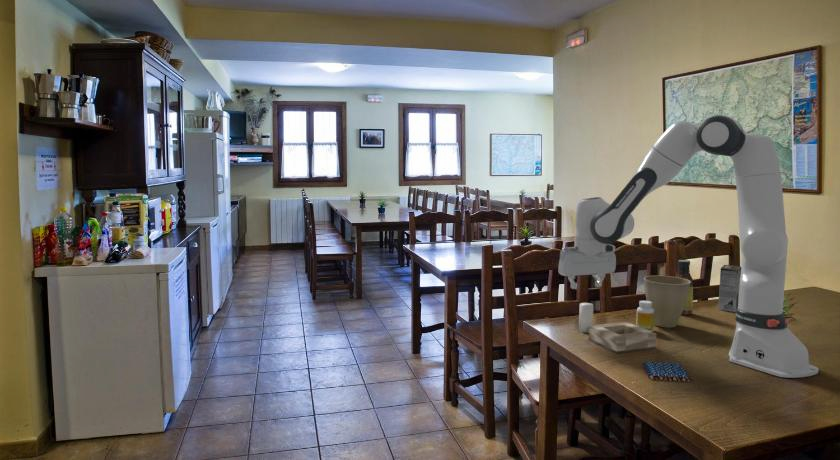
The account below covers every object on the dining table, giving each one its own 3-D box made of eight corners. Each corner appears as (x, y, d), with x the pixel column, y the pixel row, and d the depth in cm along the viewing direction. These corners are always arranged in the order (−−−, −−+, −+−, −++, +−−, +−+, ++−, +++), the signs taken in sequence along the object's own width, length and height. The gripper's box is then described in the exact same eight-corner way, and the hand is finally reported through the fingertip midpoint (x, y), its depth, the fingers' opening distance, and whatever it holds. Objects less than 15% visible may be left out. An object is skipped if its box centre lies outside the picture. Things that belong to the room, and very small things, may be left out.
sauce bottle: (693, 312, 221) (696, 260, 218) (691, 316, 215) (694, 262, 213) (674, 310, 224) (677, 258, 222) (671, 314, 219) (674, 261, 217)
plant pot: (675, 333, 195) (678, 286, 193) (633, 324, 206) (635, 279, 204) (696, 325, 204) (698, 279, 202) (654, 316, 215) (656, 273, 213)
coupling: (597, 332, 196) (598, 306, 194) (586, 334, 194) (587, 307, 193) (585, 327, 202) (585, 301, 201) (574, 328, 201) (574, 302, 200)
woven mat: (692, 383, 153) (692, 376, 152) (648, 381, 155) (649, 373, 154) (682, 369, 163) (682, 362, 163) (641, 367, 165) (641, 360, 165)
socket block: (655, 348, 179) (656, 333, 179) (616, 353, 175) (617, 338, 174) (625, 335, 193) (626, 321, 192) (588, 339, 188) (589, 325, 188)
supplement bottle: (654, 332, 195) (655, 304, 194) (637, 332, 197) (638, 303, 195) (651, 328, 201) (652, 300, 200) (634, 327, 202) (636, 299, 201)
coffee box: (721, 304, 232) (724, 264, 231) (740, 307, 229) (742, 266, 227) (717, 309, 225) (719, 267, 223) (736, 312, 221) (739, 269, 219)
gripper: (566, 249, 188) (564, 291, 190) (619, 246, 195) (617, 287, 197) (555, 246, 194) (553, 287, 196) (607, 243, 201) (605, 283, 203)
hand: (586, 287), depth 197 cm, fingers open, 8 cm apart
